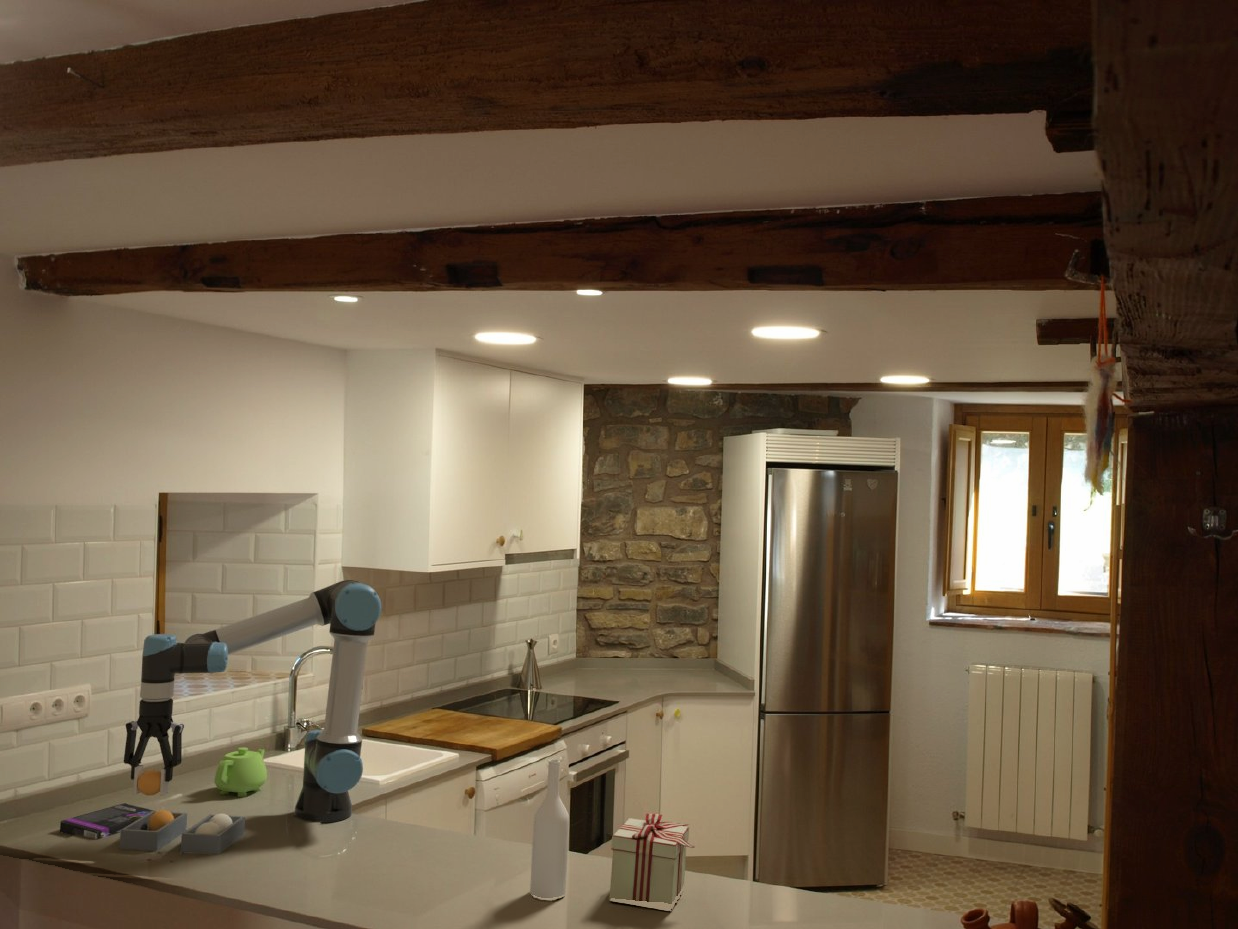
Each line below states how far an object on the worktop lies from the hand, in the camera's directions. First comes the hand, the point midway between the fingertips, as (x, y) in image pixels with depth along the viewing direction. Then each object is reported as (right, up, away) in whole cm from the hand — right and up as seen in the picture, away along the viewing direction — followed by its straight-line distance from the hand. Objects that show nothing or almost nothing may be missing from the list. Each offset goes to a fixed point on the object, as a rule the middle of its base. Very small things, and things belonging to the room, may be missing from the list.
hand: (150, 793), depth 255 cm
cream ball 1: (+14, -13, -1) cm, 19 cm away
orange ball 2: (-1, -12, +7) cm, 14 cm away
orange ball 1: (0, 0, 0) cm, 0 cm away
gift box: (+122, -18, -17) cm, 125 cm away
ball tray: (+6, -13, 0) cm, 14 cm away
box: (-16, -13, +13) cm, 24 cm away
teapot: (+4, -15, +49) cm, 52 cm away
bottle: (+98, -17, -19) cm, 102 cm away
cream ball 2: (+14, -13, +6) cm, 21 cm away
